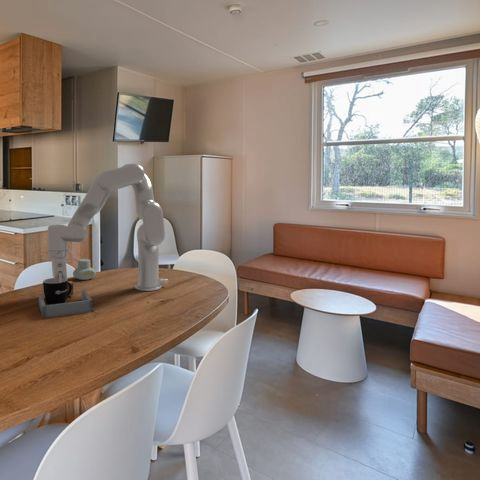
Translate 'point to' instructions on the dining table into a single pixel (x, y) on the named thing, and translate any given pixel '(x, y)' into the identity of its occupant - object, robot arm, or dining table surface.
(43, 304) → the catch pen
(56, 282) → the mug
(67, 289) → the light brown rectangular block
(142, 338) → the dining table surface
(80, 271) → the air freshener
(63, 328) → the dining table surface
